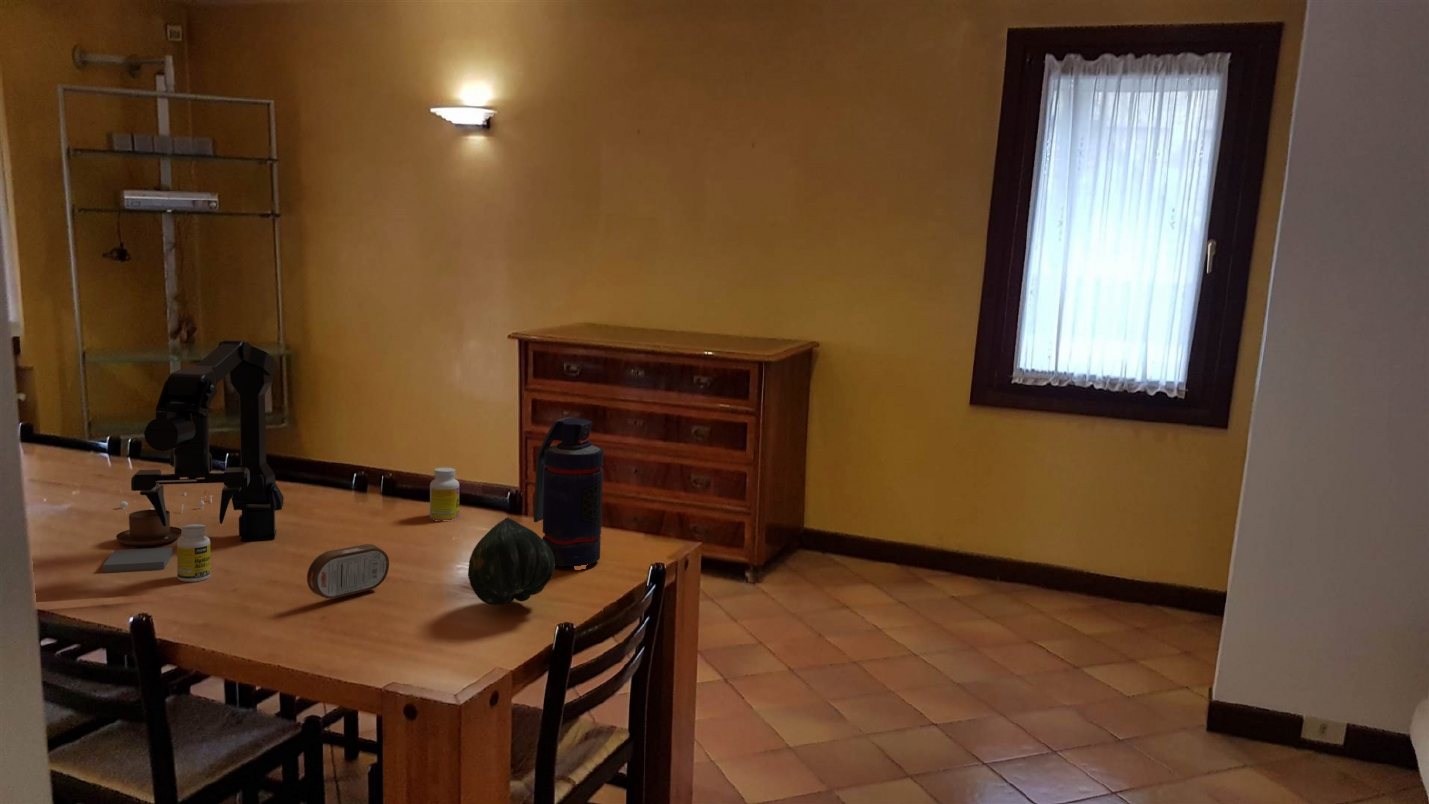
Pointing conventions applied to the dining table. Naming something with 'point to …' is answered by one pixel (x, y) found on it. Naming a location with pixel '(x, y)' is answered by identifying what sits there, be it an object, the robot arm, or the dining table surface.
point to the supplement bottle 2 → (444, 495)
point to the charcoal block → (138, 560)
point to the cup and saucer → (148, 529)
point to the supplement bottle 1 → (193, 554)
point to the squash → (510, 564)
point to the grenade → (570, 492)
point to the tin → (347, 571)
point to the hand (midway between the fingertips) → (193, 524)
